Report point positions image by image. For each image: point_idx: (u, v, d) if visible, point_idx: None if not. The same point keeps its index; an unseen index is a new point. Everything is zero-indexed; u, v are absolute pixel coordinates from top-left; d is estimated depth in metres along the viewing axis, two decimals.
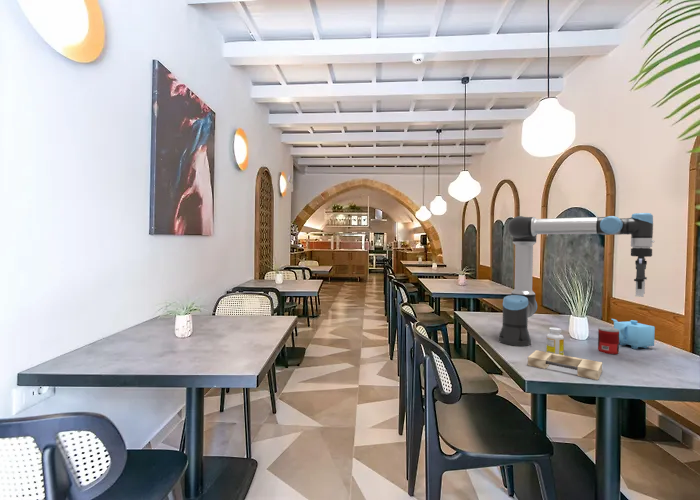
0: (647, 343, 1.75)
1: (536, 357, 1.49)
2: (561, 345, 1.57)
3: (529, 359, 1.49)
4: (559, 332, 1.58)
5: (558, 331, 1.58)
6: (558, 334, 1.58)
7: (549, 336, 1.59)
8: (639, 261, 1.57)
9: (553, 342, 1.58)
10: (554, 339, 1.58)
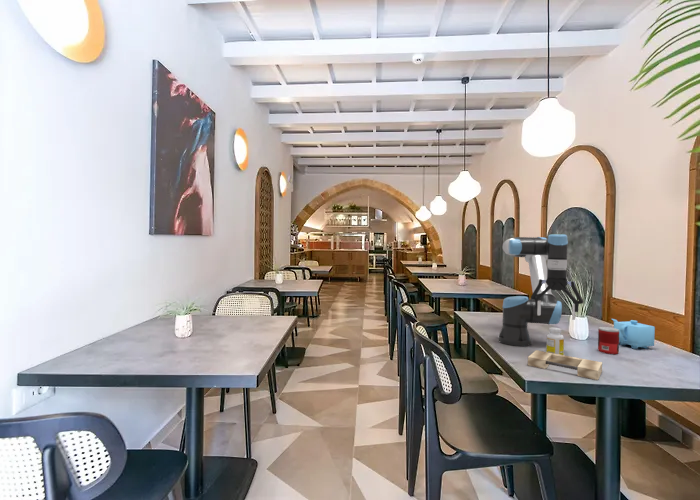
0: (647, 343, 1.75)
1: (536, 357, 1.49)
2: (561, 345, 1.57)
3: (529, 359, 1.49)
4: (559, 332, 1.58)
5: (558, 331, 1.58)
6: (558, 334, 1.58)
7: (549, 336, 1.59)
8: None
9: (553, 342, 1.58)
10: (554, 339, 1.58)
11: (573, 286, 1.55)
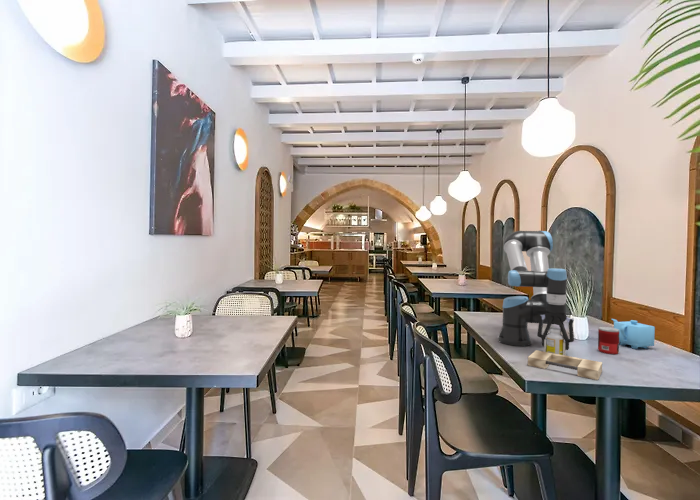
0: (647, 343, 1.75)
1: (536, 357, 1.49)
2: (561, 345, 1.57)
3: (529, 359, 1.49)
4: (559, 332, 1.58)
5: (558, 331, 1.58)
6: (558, 334, 1.58)
7: (549, 336, 1.59)
8: None
9: (553, 342, 1.58)
10: (554, 339, 1.58)
11: (570, 324, 1.55)
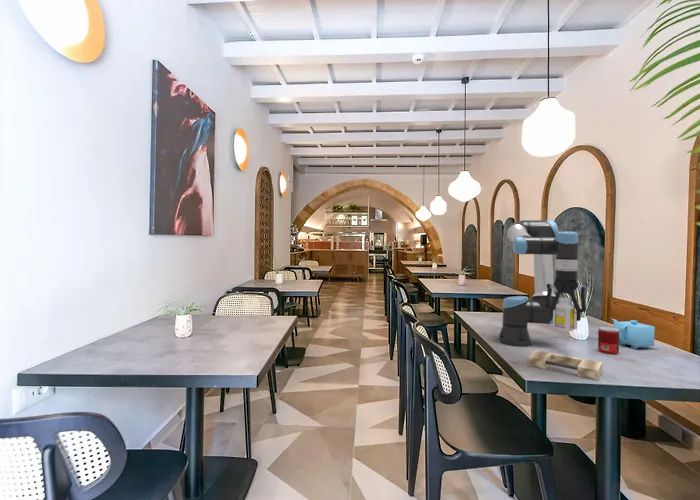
0: (647, 343, 1.75)
1: (536, 357, 1.49)
2: (572, 316, 1.42)
3: (529, 359, 1.49)
4: (570, 301, 1.43)
5: (569, 300, 1.43)
6: (569, 303, 1.43)
7: (559, 306, 1.45)
8: None
9: (563, 312, 1.43)
10: (565, 309, 1.43)
11: (582, 292, 1.41)
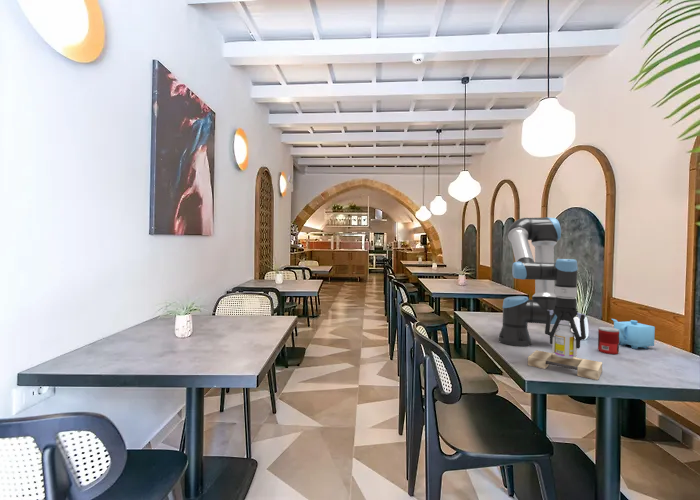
0: (647, 343, 1.75)
1: (536, 357, 1.49)
2: (571, 343, 1.43)
3: (529, 359, 1.49)
4: (569, 329, 1.44)
5: (568, 328, 1.43)
6: (568, 331, 1.43)
7: (558, 333, 1.45)
8: None
9: (563, 339, 1.43)
10: (564, 337, 1.43)
11: (582, 320, 1.41)
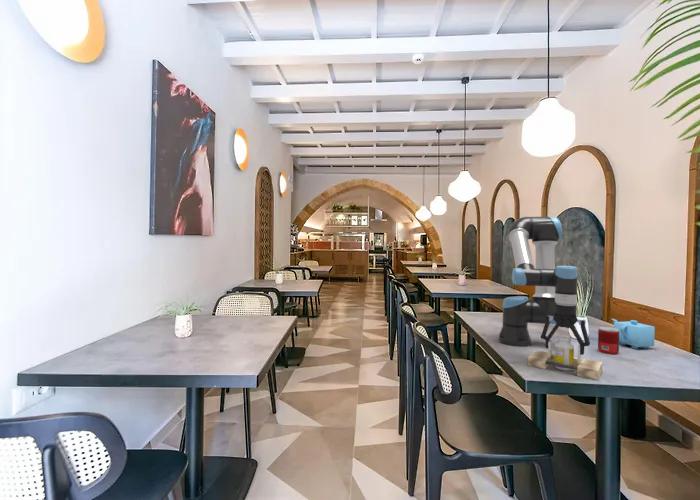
0: (647, 343, 1.75)
1: (536, 357, 1.49)
2: (571, 355, 1.43)
3: (529, 359, 1.49)
4: (568, 341, 1.44)
5: (567, 340, 1.44)
6: (567, 343, 1.44)
7: (557, 345, 1.45)
8: None
9: (562, 351, 1.43)
10: (563, 349, 1.43)
11: (582, 326, 1.41)
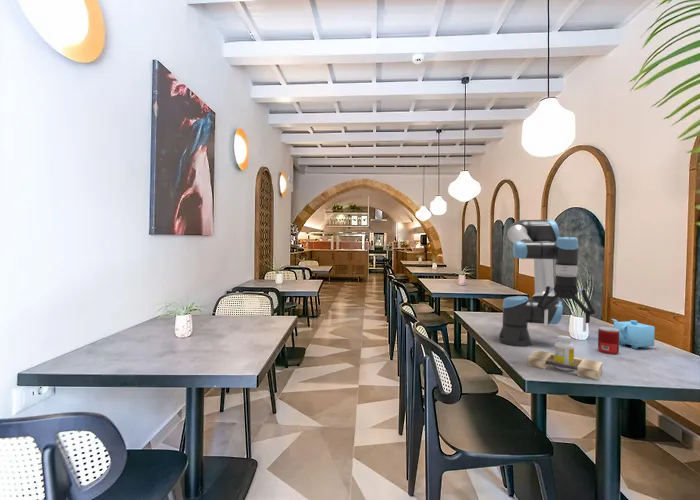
0: (647, 343, 1.75)
1: (536, 357, 1.49)
2: (571, 355, 1.43)
3: (529, 359, 1.49)
4: (569, 341, 1.44)
5: (568, 340, 1.44)
6: (568, 343, 1.44)
7: (558, 345, 1.45)
8: None
9: (562, 351, 1.43)
10: (564, 349, 1.43)
11: (584, 295, 1.40)
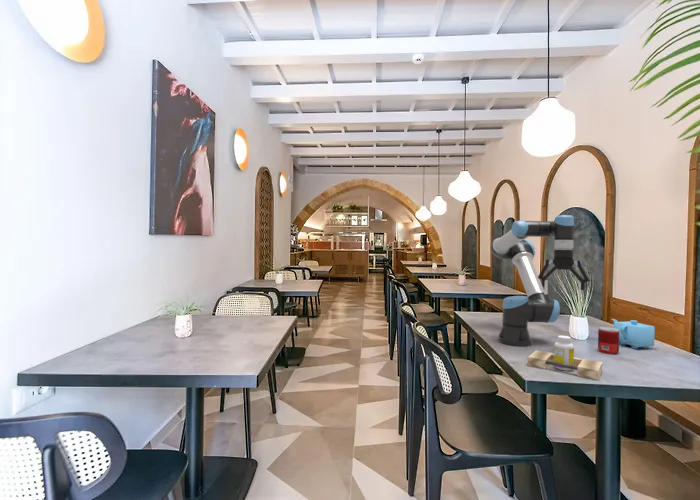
0: (647, 343, 1.75)
1: (536, 357, 1.49)
2: (571, 355, 1.43)
3: (529, 359, 1.49)
4: (569, 341, 1.44)
5: (567, 340, 1.44)
6: (567, 343, 1.44)
7: (557, 345, 1.45)
8: None
9: (562, 352, 1.43)
10: (563, 349, 1.43)
11: (579, 265, 1.60)
